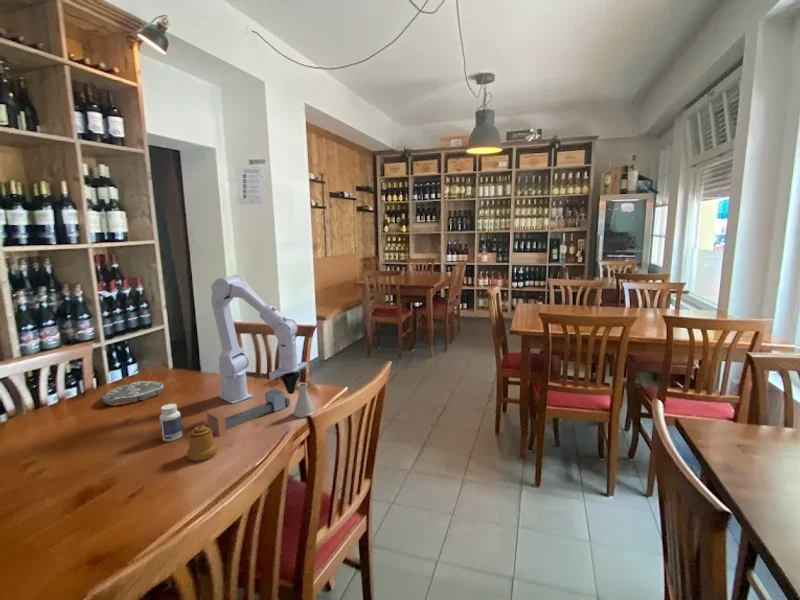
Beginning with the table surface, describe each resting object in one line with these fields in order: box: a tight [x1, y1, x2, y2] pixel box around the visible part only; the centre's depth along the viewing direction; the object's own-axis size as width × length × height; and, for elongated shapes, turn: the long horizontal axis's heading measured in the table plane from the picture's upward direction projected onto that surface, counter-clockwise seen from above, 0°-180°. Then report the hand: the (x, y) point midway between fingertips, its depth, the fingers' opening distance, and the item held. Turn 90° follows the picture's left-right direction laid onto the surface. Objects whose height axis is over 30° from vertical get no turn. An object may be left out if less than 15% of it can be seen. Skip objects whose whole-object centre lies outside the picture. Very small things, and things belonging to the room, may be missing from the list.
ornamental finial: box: [186, 425, 218, 462], centre depth 113 cm, size 8×8×8 cm
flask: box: [293, 382, 316, 418], centre depth 137 cm, size 7×7×10 cm
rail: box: [206, 396, 291, 437], centre depth 135 cm, size 7×26×6 cm, turn 140°
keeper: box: [264, 389, 286, 413], centre depth 142 cm, size 5×4×5 cm
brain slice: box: [100, 380, 165, 406], centre depth 156 cm, size 20×17×3 cm
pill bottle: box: [159, 403, 184, 442], centre depth 123 cm, size 5×5×10 cm
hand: (290, 392), depth 146 cm, fingers closed
